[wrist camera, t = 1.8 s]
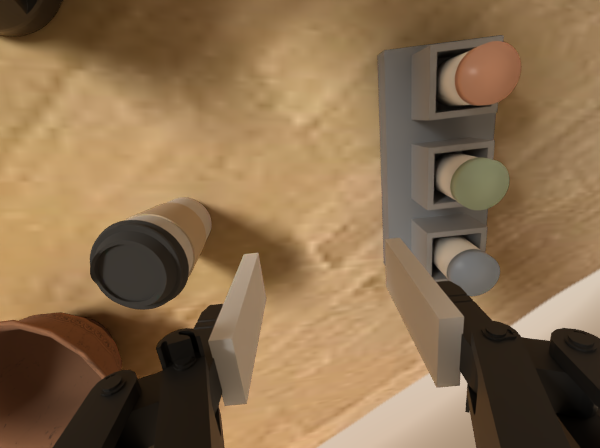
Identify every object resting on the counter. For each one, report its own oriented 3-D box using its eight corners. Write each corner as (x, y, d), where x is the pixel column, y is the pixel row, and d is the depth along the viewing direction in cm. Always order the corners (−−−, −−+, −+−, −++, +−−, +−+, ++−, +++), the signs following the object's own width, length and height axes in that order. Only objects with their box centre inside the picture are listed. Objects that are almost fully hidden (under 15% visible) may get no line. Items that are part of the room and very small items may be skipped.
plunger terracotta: (431, 58, 30) (463, 45, 24) (480, 52, 30) (524, 37, 24) (430, 109, 31) (460, 108, 26) (476, 104, 31) (517, 101, 25)
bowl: (131, 413, 53) (90, 485, 43) (-3, 364, 50) (-82, 430, 39) (177, 314, 46) (141, 371, 36) (26, 252, 43) (-60, 295, 33)
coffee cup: (226, 200, 41) (187, 246, 27) (212, 260, 44) (170, 330, 29) (157, 180, 40) (78, 216, 26) (147, 243, 43) (71, 306, 29)
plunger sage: (429, 154, 33) (457, 162, 27) (474, 148, 33) (512, 156, 27) (428, 196, 34) (455, 213, 28) (471, 191, 34) (506, 207, 28)
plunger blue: (428, 233, 36) (453, 256, 30) (468, 229, 36) (502, 251, 30) (427, 269, 37) (451, 298, 31) (466, 265, 37) (497, 293, 31)
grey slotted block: (377, 55, 35) (398, 39, 28) (485, 41, 35) (537, 21, 27) (383, 263, 44) (401, 294, 36) (471, 254, 43) (507, 283, 36)
